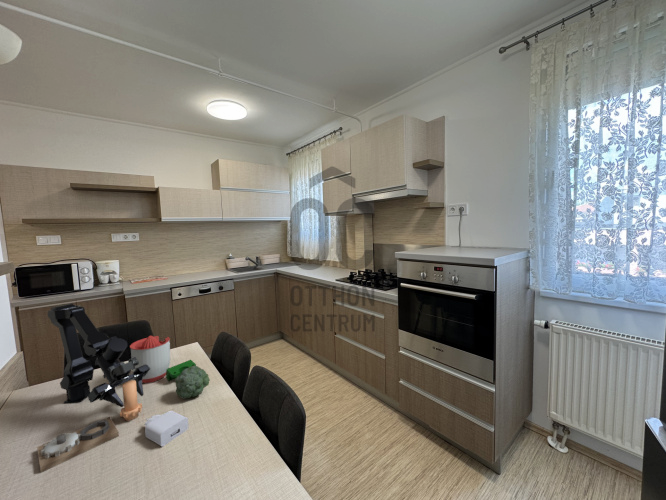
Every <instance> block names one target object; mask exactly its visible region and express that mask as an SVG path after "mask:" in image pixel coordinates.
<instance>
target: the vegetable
mask: <svg viewBox="0 0 666 500" xmlns="http://www.w3.org/2000/svg"><path fill="white" fill-rule="evenodd" d="M174 380H175V381H174V383H175V389H176V390H175V394H176V395H177V396H178V397H179V398H180V399H190V398H191V397H192V398H196V396H200V395H201V393H202V392H204V388H206V387H207V386H209V384H210V380H211V379H210V378H209V374H208V373H207V372H206V370H204V368H201V367H199V366H197V365H196V366H191V367H189V368H187V369H185V370H183V371H182V372H181V374H180V375H179V376H178V377H176V379H174Z"/></svg>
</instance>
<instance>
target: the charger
mask: <svg viewBox="0 0 666 500" xmlns="http://www.w3.org/2000/svg"><path fill="white" fill-rule="evenodd" d="M143 425H144V427H145V428H144V430H145V431H144V432H145V433H144V435H145V438H146V439H148V440H150V441H152V442H154V443H156V444H157V445H159V446H161V447H165V445H166V446H167V444H170V442H172V441H173V440H174V439H176V438H178V437H179V436H181V435H182V434H183V433H185V432H186V431H188V429H189V418H188V417H186V416H184V415H182V414H180V413H177V412H176V411H173V410H169V411H166V412H165V413H163V414H155V415H151V416H150V417H149V418H146V419H145V423H144V424H143Z"/></svg>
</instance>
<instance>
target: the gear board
mask: <svg viewBox="0 0 666 500" xmlns="http://www.w3.org/2000/svg"><path fill="white" fill-rule="evenodd" d="M119 433H120V432H119V430H118V428H117V426H116V425H115V423H114V422H113V420H112V418H111V417H110V416H109V417H106V418H104V419H101V420H96V421H95V422H92V423H91V424H90V423H89V424H88V425H87V426H84V427H82V428H80V429H77V430H75V431H72V432H70V433H68V432H67V433H66V432H65V433H61V434H58V435H57V436H55V437H54V438H52V439H51V441H48V442H46V443H44V444H42V445H39V446H37V447H36V448H37V457H38V463H39V470H40V473H43V472H45V471H47V470H49V469H52V468H54V467H56V466H58V465H60V464H62V463H64V462H67V461H68V460H70V459H73V458H75V457H77V456H79V455H81V454H84V453H86V452H89V451H90V450H92V449H94V448H97V447H98V446H102V445H103V444H105V443H107V442H110V441H111V440H113V439H116V438H118V437H120V434H119Z"/></svg>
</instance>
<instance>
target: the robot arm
mask: <svg viewBox="0 0 666 500" xmlns="http://www.w3.org/2000/svg"><path fill="white" fill-rule="evenodd" d="M47 317H48V319H50V320H49V321H50V322H51V324H52V325H53V326H55V327H57V328H58V331H59V334H60V339H61V341H62V346H63V350H64V353H65V359H66V362H67V363H66V365H65V368H64V370H63V378H62V379H61V381H60V382H59V384H60V385H59V386H60V388H61V389H63V390H65V392H66V399H65V400H64V401H63V404H72V403H73V404H74V403H82V401H84V400H85V399H88V401H89V402H90V404H91V403H94V402H96V401H98V400H99V401H106V402H109V403H111V404H114V405H116V406H118V407H119V408H124V401H122V399H121V397H120V396H119V395H118V393H117V391H116V387H119V386H121V385H123V383H125V382H127V381H131V380H135V381H136V389H137V394H138V395H140V397H143V396H144V388H143V383H142V378H143V377H144V376H145V375H146V374H147V373H148V371H149V370H150V367H149V366H148V365H146V364H145V365H143V366H140V367H138V368H136V370H135V371H134V372H133V369H135V366H136V365H138V364H139V362H138V360H137V358H136V357H134V358H129V359H128V362H124V361H121V360H120V359H119V358H121V356H122V355H123V353H125V350H127V348H128V346H129V345H128V342H127V340H125V339H123V338H119V337H117V335H115V336H112V337H109V336H108V335H107V334H106V333H104V332H101V331H99V329H98V328H97V327H96V325H95V324H94V322H92V320H91V318H90V317H89V316H88V314H87V313H86V310H85V307H84V306H81V304H80V305H79V304H74V303H73V302H71V303H67V304H62V305H56V306H52V307H51V308H50V310H48V311H47ZM78 333H79V335H80V336H81V337H82V339H83V341H84V343H83V346H82V347H83V349H84V353H85V354H86V355H87V356H88V357H95V356H97V357H96V360H95V362H94V365H95V366H98V367H99V368H100V370H101V371H102V373H103V375H102V377H103V379H106V380H107V381H108V383H107V382H103V383H101V384H99V385H97V386H95V387H93V388H92V389H91V388H90V385H89V382H90V381H93V378H94V372H95V369H94V367H93V366H92V361H91V360H90V359H89V360H87V359H86V358H85V357H84V356H83V352H82V351H83V350H82V347H81V343H80V339H79V335H78Z"/></svg>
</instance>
